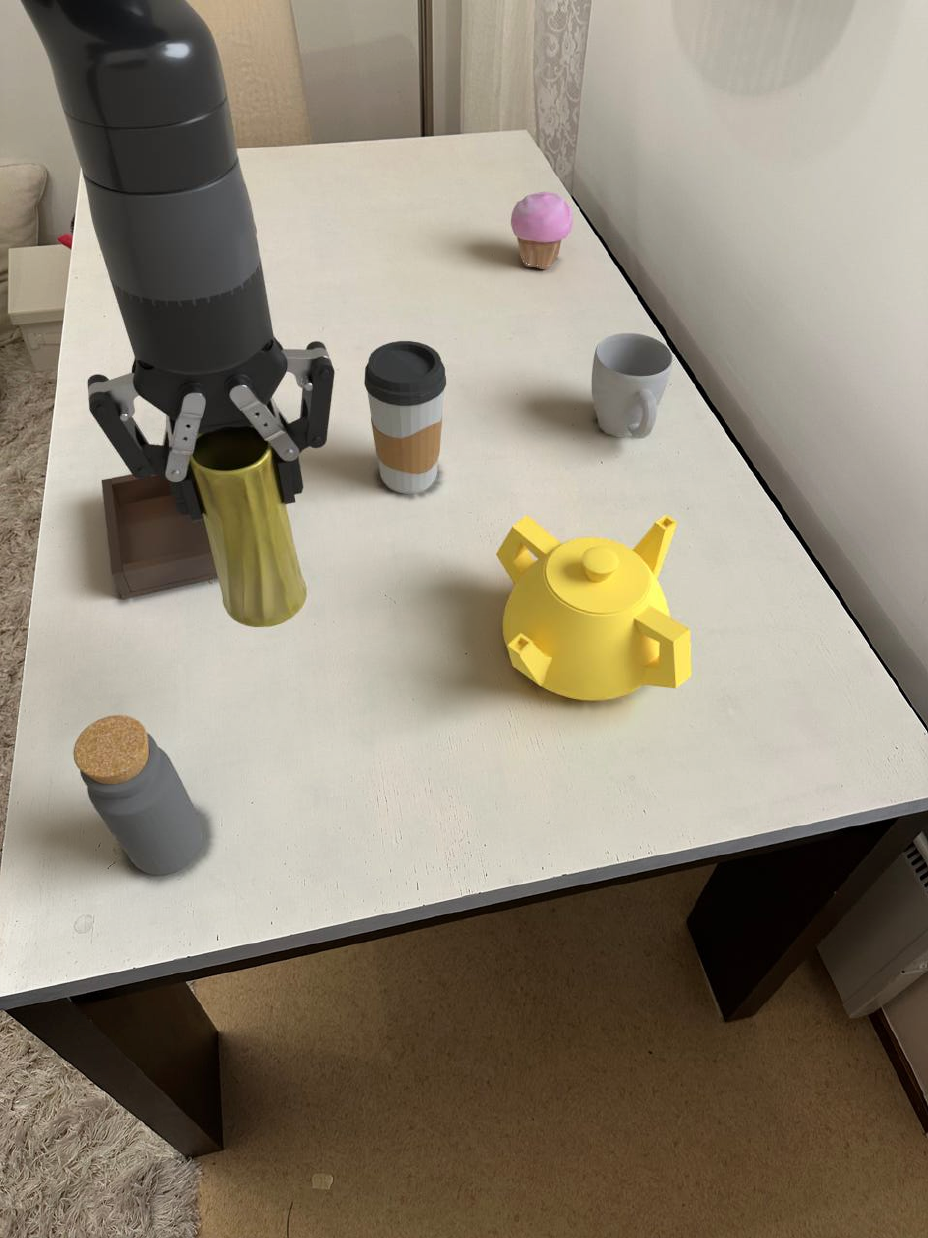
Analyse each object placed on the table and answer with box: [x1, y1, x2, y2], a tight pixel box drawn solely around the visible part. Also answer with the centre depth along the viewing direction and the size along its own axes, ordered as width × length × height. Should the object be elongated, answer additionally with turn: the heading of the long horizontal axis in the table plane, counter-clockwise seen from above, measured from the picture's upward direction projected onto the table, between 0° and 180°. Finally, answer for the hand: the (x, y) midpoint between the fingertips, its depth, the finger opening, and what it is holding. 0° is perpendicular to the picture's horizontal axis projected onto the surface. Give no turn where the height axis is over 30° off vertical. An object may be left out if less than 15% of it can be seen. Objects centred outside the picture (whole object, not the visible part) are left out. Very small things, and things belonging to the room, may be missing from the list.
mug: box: [591, 332, 674, 439], centre depth 98 cm, size 12×9×10 cm
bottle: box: [72, 714, 205, 877], centre depth 61 cm, size 6×6×15 cm
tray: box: [101, 473, 218, 600], centre depth 87 cm, size 14×14×4 cm
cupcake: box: [510, 191, 574, 270], centre depth 122 cm, size 9×9×10 cm
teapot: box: [495, 514, 693, 702], centre depth 76 cm, size 17×17×12 cm
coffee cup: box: [363, 340, 447, 495], centre depth 90 cm, size 8×8×15 cm
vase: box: [189, 425, 308, 628], centre depth 57 cm, size 6×6×14 cm
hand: (243, 503), depth 55 cm, fingers closed on vase, 5 cm apart
